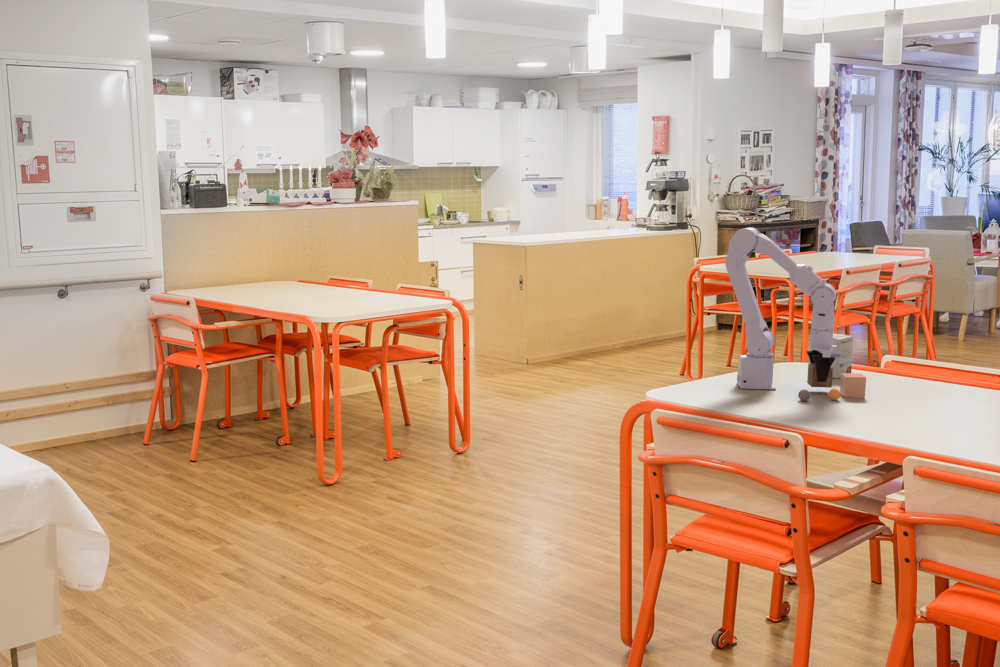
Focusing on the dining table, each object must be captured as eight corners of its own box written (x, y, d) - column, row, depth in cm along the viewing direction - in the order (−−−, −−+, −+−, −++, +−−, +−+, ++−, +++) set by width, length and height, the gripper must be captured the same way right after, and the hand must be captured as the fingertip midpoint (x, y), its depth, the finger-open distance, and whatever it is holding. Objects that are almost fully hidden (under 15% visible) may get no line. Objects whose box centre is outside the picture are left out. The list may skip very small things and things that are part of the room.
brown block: (811, 387, 251) (812, 366, 250) (807, 383, 256) (808, 363, 255) (831, 387, 251) (832, 367, 250) (826, 383, 256) (828, 363, 255)
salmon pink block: (844, 397, 248) (845, 376, 247) (839, 393, 253) (841, 373, 252) (864, 398, 247) (866, 377, 246) (859, 393, 252) (861, 373, 251)
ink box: (825, 370, 283) (827, 331, 281) (852, 375, 277) (854, 335, 275) (810, 374, 278) (812, 335, 276) (837, 379, 271) (840, 338, 270)
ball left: (799, 402, 242) (799, 390, 242) (796, 399, 245) (797, 388, 245) (811, 402, 242) (811, 390, 242) (808, 399, 245) (809, 388, 245)
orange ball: (829, 401, 243) (830, 389, 243) (826, 398, 246) (827, 387, 246) (841, 401, 243) (842, 390, 243) (838, 398, 246) (839, 387, 246)
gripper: (844, 333, 244) (841, 385, 246) (831, 325, 258) (828, 374, 260) (816, 333, 244) (813, 384, 246) (804, 325, 259) (802, 373, 261)
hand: (819, 379), depth 253 cm, fingers closed on brown block, 5 cm apart
